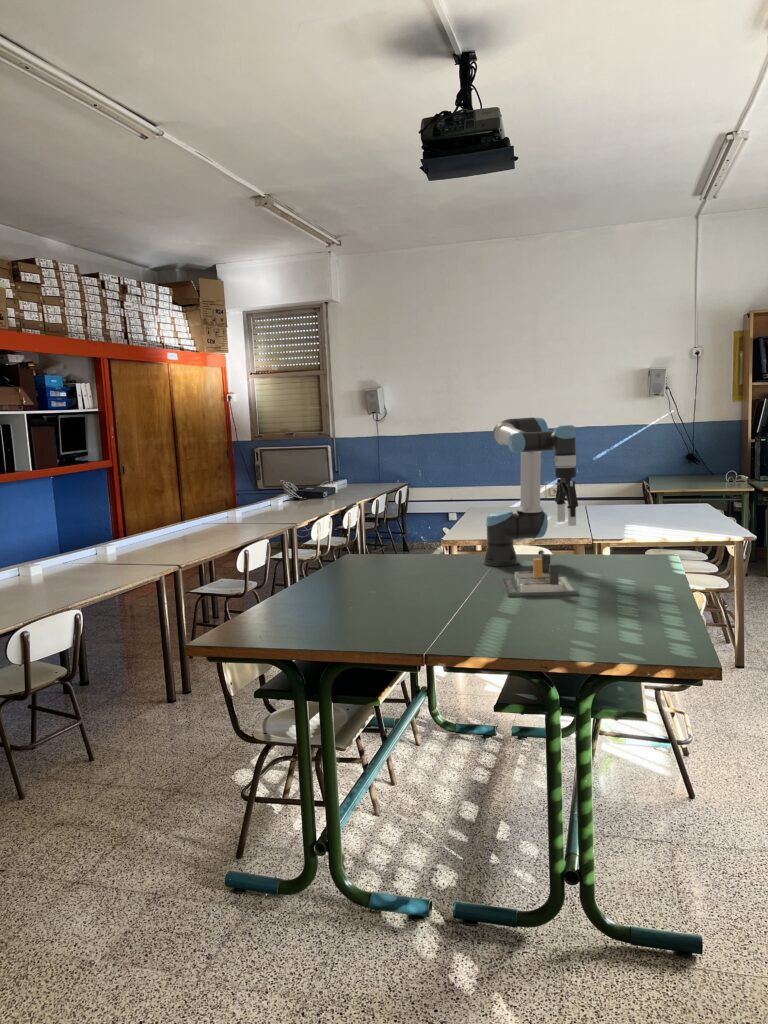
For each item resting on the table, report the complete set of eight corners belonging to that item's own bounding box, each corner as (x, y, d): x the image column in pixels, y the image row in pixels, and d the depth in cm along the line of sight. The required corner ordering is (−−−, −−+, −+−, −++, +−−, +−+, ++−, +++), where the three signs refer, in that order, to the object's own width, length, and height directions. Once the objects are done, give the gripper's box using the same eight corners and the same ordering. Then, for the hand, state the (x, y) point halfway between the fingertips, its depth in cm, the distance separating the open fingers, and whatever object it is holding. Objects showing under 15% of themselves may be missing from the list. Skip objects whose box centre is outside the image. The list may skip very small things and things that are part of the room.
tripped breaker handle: (533, 576, 286) (533, 558, 285) (541, 576, 286) (541, 558, 285) (534, 578, 284) (533, 559, 283) (542, 577, 283) (542, 559, 282)
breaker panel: (502, 582, 298) (501, 554, 297) (565, 580, 296) (565, 553, 295) (507, 596, 274) (507, 567, 272) (577, 595, 272) (577, 565, 270)
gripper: (546, 466, 291) (547, 520, 294) (565, 468, 267) (566, 528, 269) (565, 465, 292) (566, 519, 294) (586, 467, 267) (587, 526, 269)
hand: (566, 523), depth 281 cm, fingers open, 13 cm apart
